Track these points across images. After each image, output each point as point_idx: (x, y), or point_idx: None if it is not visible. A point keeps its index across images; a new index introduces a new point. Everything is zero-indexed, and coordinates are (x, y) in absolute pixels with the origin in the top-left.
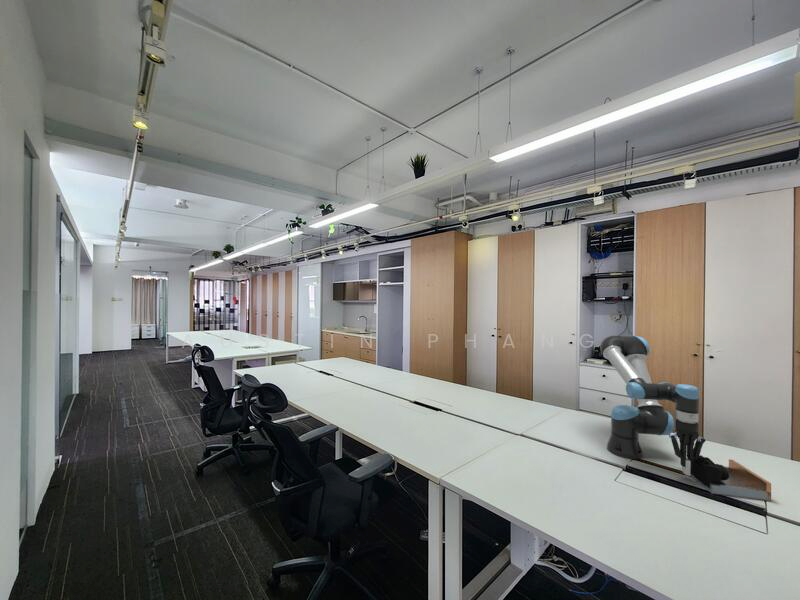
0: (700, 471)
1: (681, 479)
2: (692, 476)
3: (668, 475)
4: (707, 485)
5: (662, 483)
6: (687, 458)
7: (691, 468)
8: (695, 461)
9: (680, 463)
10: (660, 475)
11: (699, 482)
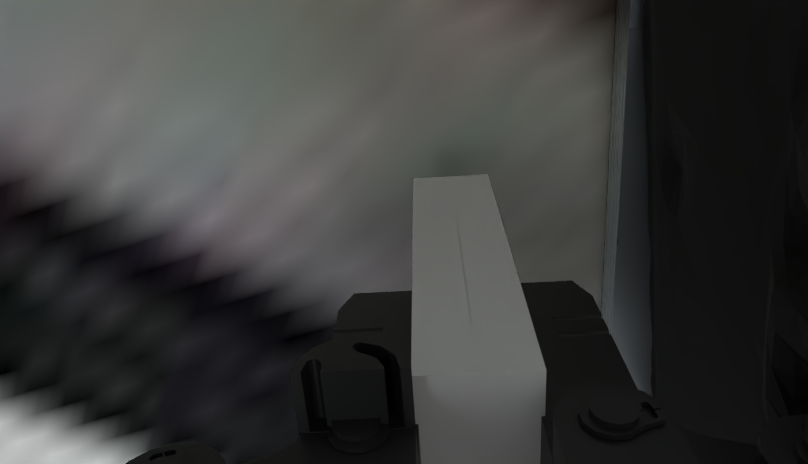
0: (713, 341)
1: (367, 210)
2: (618, 73)
3: (197, 129)
4: (647, 381)
5: (39, 419)
6: (545, 424)
7: (684, 44)
8: (794, 328)
9: (337, 317)
10: (59, 177)
11: (608, 257)
